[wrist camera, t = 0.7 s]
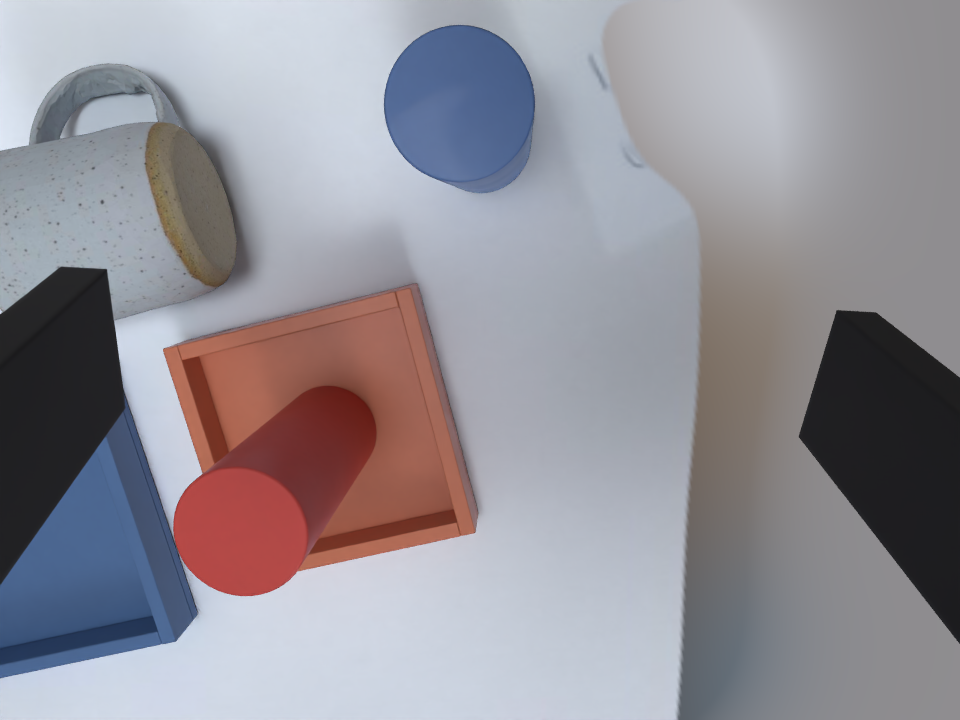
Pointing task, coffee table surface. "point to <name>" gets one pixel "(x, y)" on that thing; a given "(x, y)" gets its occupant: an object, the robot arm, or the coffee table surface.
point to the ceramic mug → (114, 201)
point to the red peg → (274, 493)
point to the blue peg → (462, 108)
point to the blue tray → (96, 568)
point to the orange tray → (368, 374)
